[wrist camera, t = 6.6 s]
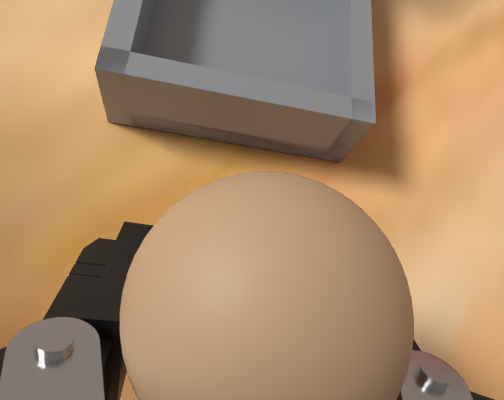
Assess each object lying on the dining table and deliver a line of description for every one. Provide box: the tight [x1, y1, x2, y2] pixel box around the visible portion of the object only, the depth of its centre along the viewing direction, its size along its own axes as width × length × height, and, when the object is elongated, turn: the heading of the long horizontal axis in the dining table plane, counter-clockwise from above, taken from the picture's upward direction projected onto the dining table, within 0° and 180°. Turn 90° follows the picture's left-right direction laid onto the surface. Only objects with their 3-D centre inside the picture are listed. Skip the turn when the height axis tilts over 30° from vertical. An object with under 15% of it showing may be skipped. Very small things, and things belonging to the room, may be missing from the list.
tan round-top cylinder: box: [120, 172, 414, 400], centre depth 9 cm, size 4×4×11 cm
